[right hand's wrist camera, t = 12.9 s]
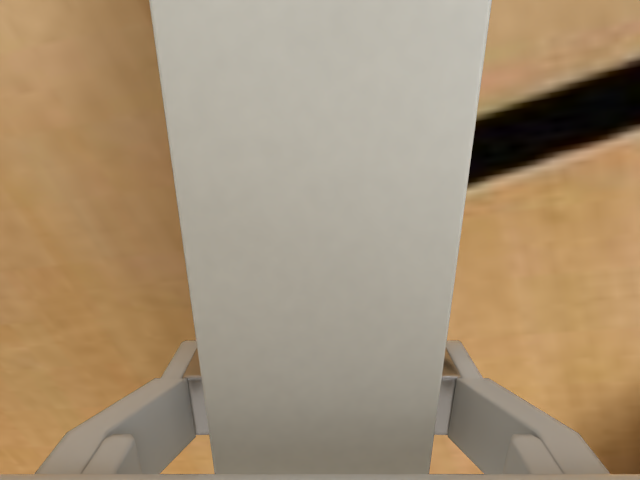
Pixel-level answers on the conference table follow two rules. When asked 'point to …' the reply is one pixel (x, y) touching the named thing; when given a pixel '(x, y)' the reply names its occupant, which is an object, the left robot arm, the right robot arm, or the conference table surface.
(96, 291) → the conference table surface
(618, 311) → the conference table surface
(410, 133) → the beam
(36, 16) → the conference table surface
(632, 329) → the conference table surface
